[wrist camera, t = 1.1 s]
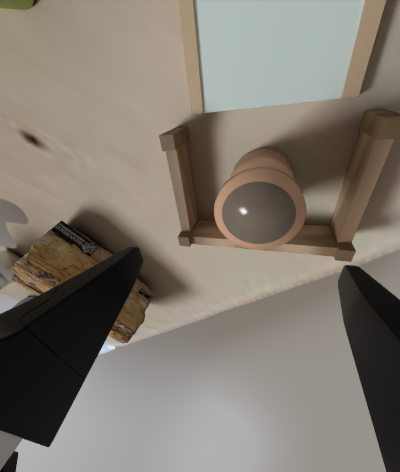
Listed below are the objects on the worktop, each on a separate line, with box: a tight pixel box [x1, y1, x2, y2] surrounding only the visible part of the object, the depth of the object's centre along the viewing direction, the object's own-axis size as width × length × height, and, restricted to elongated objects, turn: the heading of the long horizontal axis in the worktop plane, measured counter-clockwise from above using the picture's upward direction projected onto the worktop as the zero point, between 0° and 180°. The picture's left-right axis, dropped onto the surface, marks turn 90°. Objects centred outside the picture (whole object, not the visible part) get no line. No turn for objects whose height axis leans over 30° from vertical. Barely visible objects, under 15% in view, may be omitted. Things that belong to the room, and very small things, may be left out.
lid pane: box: [178, 0, 386, 114], centre depth 12 cm, size 12×11×1 cm
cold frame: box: [159, 110, 400, 262], centre depth 18 cm, size 16×11×4 cm
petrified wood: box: [10, 221, 153, 343], centre depth 33 cm, size 19×13×10 cm
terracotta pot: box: [214, 148, 306, 250], centre depth 17 cm, size 6×6×7 cm
